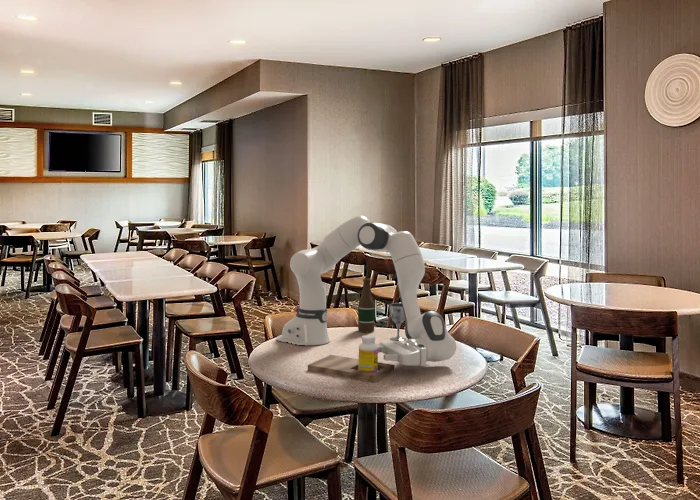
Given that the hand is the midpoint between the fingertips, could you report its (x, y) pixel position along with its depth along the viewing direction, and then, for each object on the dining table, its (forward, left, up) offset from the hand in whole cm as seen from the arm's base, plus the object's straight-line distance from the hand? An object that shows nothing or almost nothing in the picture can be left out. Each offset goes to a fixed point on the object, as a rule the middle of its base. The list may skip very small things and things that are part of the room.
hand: (378, 354), depth 211 cm
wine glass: (-14, +49, -7) cm, 51 cm away
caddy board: (-9, -3, -6) cm, 11 cm away
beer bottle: (-33, +56, -7) cm, 65 cm away
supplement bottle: (-2, -3, -7) cm, 8 cm away
